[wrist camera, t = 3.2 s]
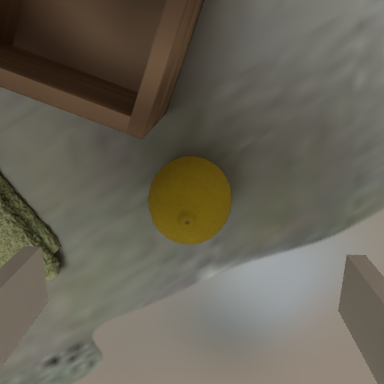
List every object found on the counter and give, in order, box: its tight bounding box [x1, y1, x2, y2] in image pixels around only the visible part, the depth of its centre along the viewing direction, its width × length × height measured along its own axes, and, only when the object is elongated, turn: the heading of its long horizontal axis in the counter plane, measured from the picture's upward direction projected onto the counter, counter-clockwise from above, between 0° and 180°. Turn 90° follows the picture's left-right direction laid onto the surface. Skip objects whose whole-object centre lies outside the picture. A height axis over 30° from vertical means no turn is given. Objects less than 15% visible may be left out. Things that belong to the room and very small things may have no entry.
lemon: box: [148, 156, 232, 244], centre depth 25 cm, size 6×6×8 cm
